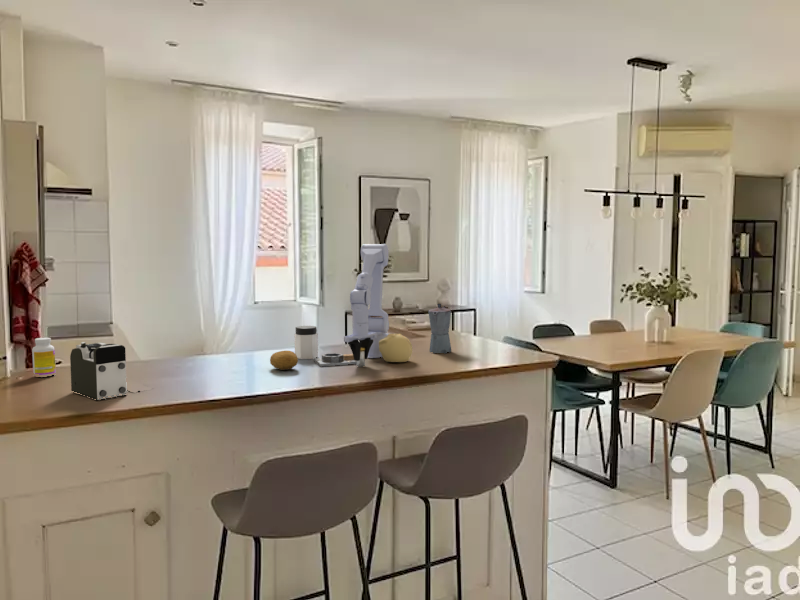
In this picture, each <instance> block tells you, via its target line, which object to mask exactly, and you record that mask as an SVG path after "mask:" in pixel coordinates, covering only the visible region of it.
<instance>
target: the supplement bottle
mask: <svg viewBox="0 0 800 600" xmlns="http://www.w3.org/2000/svg"><path fill="white" fill-rule="evenodd" d="M51 343H52V338H51V337H37V338H35V339H34V344H35V346H33V347H32V349H31V352H32V353H31V354H32V355H31V356H32V370H33V373H34V374H39V375H48V374H53V373H56V374H57V369H56V354H55V353H56V350H55V346H54V345H52V344H51Z"/></svg>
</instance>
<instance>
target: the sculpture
mask: <svg viewBox="0 0 800 600" xmlns="http://www.w3.org/2000/svg"><path fill="white" fill-rule="evenodd" d="M388 334H389V335H387V337H385V338H384V339H381V340H380V341H379V351H380V352H381V354H382V356H383V357H382V358H383V360H384V361H385V362H387V363H406V362H408V361H409V360H410V358H411V357H412V355H413V345H412V343H411V341H410V340H409V338H408V337H406V336H404V335H402V333H397V332H395V333H388Z"/></svg>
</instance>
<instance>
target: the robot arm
mask: <svg viewBox="0 0 800 600" xmlns="http://www.w3.org/2000/svg"><path fill="white" fill-rule="evenodd" d="M360 257H361V260H362V262H363V263H362V270H361V273H359V274H358V275H357V279H356V282H355V285H354V289H352V290H350V294H349V295H350V296H349V302H350V309H351V311H352V312H351V313H352V333H351V334H349V335H345V336H343V342H344V343H347V344H348V346H349V348H350V350H351V354H353V357H354V360H356V361H359V360H360V349H361V347H365V360H368V359H377V358H379V359H380V357H381V358H383V356H382V354H381V352H380V351H379V341H380V340H381V339H384V338H385V337H387V335H389V334H390V333H388V332H389V329H390V321H389V314H388V313H387V311H385V310H384V309H383V305H382V304H383V285H384V284H383V283H384V282H383V280H384V268H385V267H387V266H388V264H389V247H388V244H387V243H381V244H380V243H363V244H362V245H361V247H360Z"/></svg>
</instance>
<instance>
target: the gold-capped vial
mask: <svg viewBox="0 0 800 600" xmlns="http://www.w3.org/2000/svg"><path fill="white" fill-rule="evenodd" d="M357 366H358V368H364V367H363V366H365V367H366V359H365V347H361V349H360V360H359V361H357V364H356V367H357Z"/></svg>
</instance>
